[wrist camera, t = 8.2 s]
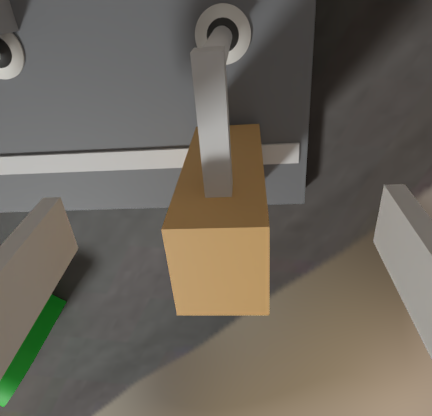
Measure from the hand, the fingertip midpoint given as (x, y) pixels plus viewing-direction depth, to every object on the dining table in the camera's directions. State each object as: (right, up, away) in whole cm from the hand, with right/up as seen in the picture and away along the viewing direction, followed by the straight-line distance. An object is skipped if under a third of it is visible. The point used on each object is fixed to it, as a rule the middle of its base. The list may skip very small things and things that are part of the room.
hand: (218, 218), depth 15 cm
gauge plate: (-5, +7, +7) cm, 11 cm away
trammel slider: (+1, +5, +5) cm, 7 cm away
